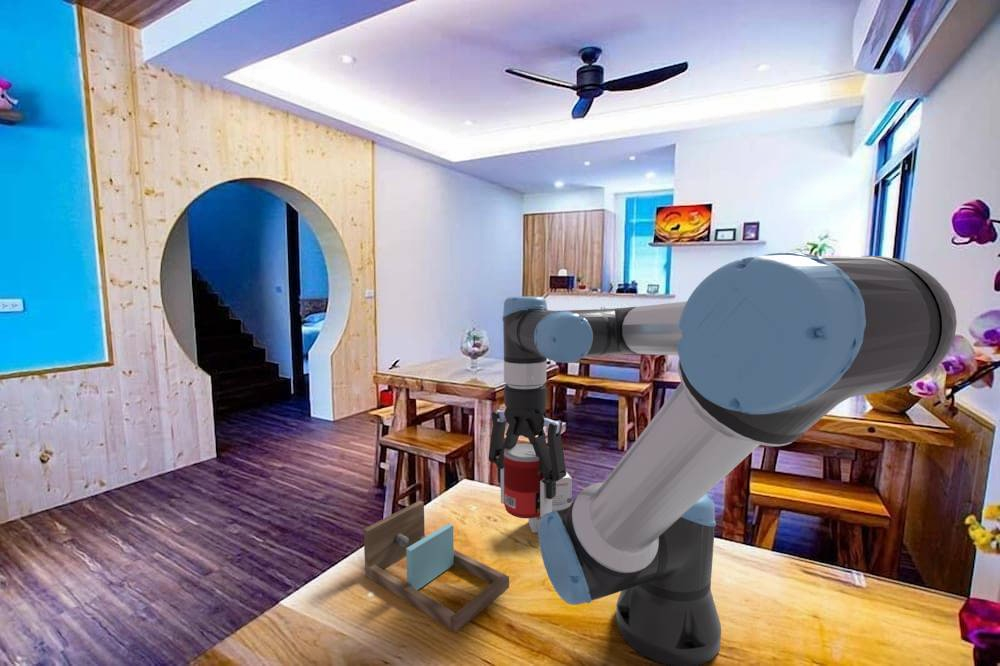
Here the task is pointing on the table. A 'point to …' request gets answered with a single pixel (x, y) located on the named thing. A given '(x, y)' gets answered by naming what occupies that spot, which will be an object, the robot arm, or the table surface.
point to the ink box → (557, 500)
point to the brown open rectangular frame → (389, 546)
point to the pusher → (430, 557)
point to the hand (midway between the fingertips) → (526, 507)
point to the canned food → (522, 481)
